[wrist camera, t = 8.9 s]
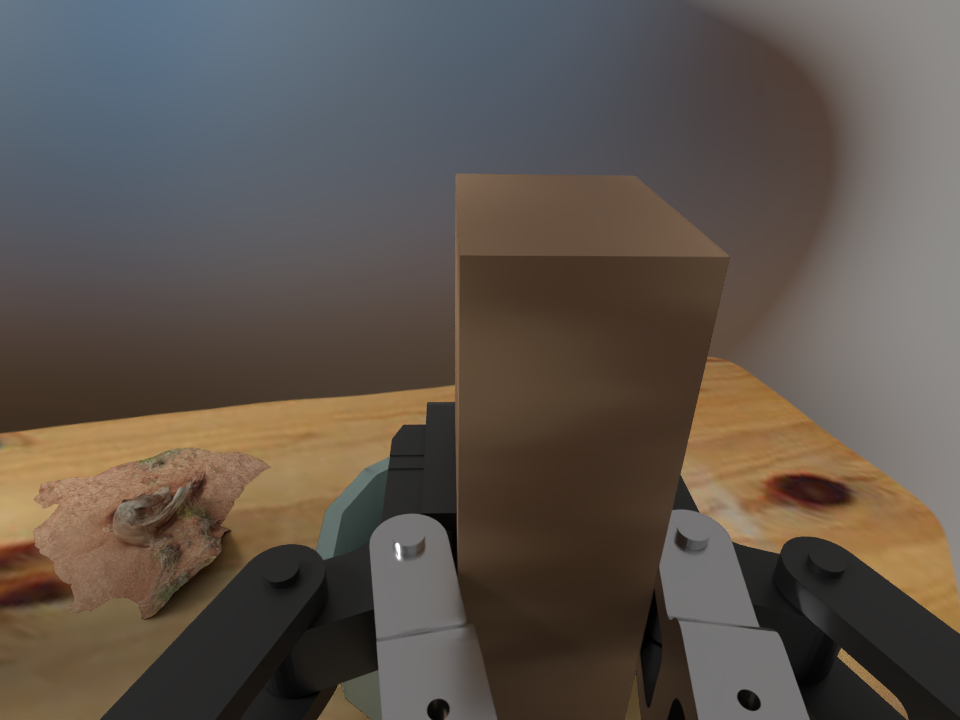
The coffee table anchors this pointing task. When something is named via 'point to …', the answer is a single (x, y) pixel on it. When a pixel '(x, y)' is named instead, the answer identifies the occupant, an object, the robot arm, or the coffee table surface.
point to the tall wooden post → (571, 424)
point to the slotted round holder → (345, 533)
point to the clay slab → (141, 525)
